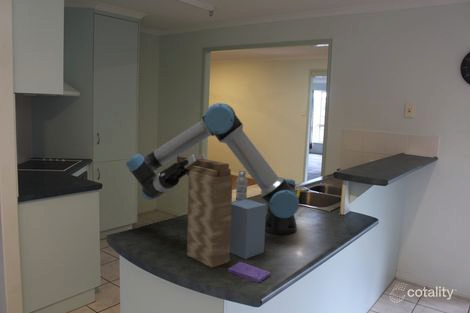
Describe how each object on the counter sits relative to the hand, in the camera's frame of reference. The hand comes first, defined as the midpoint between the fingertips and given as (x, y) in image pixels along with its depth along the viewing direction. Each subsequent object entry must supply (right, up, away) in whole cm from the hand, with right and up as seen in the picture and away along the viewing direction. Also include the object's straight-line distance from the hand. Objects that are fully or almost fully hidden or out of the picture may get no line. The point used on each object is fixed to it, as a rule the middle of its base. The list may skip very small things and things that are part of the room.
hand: (199, 157), depth 136 cm
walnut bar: (+1, -5, 0) cm, 5 cm away
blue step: (+17, -36, +8) cm, 40 cm away
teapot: (+42, -28, +74) cm, 90 cm away
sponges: (+17, -39, -11) cm, 44 cm away
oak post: (+3, -36, 0) cm, 36 cm away
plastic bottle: (+16, -28, +67) cm, 74 cm away
